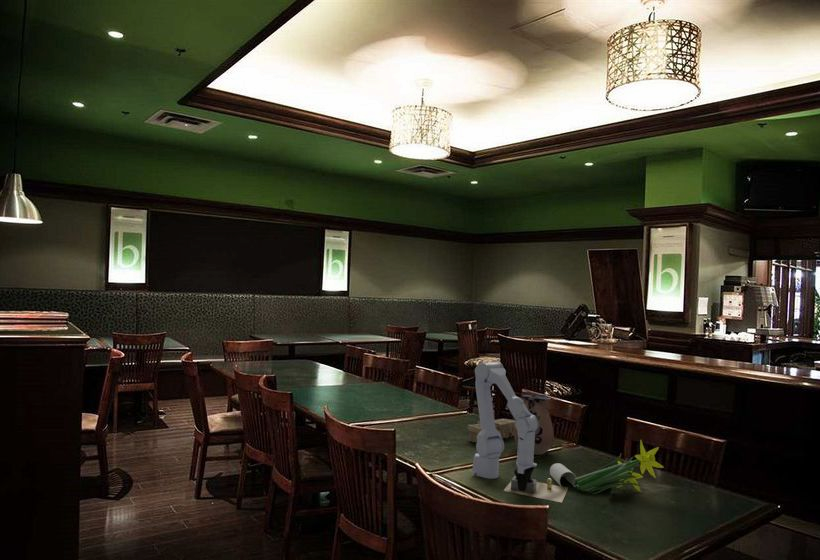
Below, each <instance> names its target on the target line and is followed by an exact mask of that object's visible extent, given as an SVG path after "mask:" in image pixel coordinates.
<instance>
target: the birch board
mask: <svg viewBox="0 0 820 560" xmlns="http://www.w3.org/2000/svg"><path fill="white" fill-rule="evenodd" d="M561 486H562V485H561ZM561 486H560V485H555V484H552V489H551V490H549V489H547V482H546V483H544V482H539V481H537V484H536V491H535V492H534V494H530V493H525V492H520V491H515V490H511V481H510V482H509V483H508V484H507V485H506V487H505V488H504V490H503V492H508V493H513V494H518V495H523V496H527V497H532V498H537V499H542V500H545V501H546V500H547V501H551V502H557V503H563V501H564V498H565V496H566V494H567V492H568V489H569V487H566V486H562V487H561Z"/></svg>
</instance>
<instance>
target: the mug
mask: <svg viewBox="0 0 820 560" xmlns="http://www.w3.org/2000/svg"><path fill="white" fill-rule="evenodd" d="M549 474H550V476H551V478H552V479H553V480H554V481H555V482H556V483H557V484H558V486H561V487H563V486H562V484H561V478H565V479H566V481H568V482H569V483H570V484H571V485H572V486H573V488H577V486H579V485H575V486H574V483H575V480H574V479H575V478H578V477H577V476H576V474H575V473H573V472H572V471H571V470H570V469H568V468H567V467H566V465H564V464H562V463H559V462H557V463H553V464H552V465H551V466H550V468H549Z"/></svg>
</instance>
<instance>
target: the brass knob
mask: <svg viewBox="0 0 820 560" xmlns="http://www.w3.org/2000/svg"><path fill="white" fill-rule="evenodd" d="M546 481H547V482H546V484H547V489H549V490H551V489H552V485H553V478H552V477H549V478H547V479H546Z"/></svg>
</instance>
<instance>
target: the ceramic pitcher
mask: <svg viewBox="0 0 820 560" xmlns="http://www.w3.org/2000/svg"><path fill="white" fill-rule="evenodd" d="M521 397H522V398H521V399H522V400H523V401H524V404H525V406H526V408H527V409H528V411H529V412H530V413H531V414H532V415H534V416H536V417H537V420H538V422H539V427H538V429H537V430H536V431H535V441H534V455H536V456H539V455H540V456H542V455H544V454H546V453H547V452H548V451H549V450H550V449H551V447H552V446H553V443H554V439H555V433H554V427H553V422H552V419H551V416H550V411H549V406H550V405H549V402H550V401H551V397H549V396H547V395H546V394H532V393H527V394H521ZM513 438H514V441H515V443H516V446H518V435H517V429H516V426H515V431H514V437H513Z"/></svg>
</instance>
